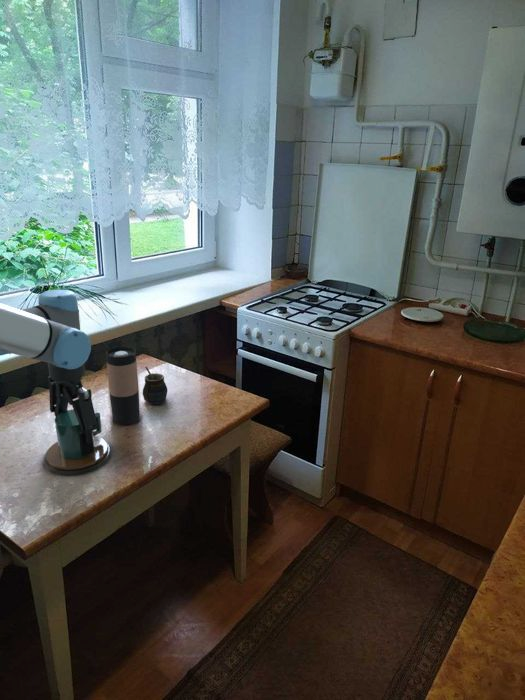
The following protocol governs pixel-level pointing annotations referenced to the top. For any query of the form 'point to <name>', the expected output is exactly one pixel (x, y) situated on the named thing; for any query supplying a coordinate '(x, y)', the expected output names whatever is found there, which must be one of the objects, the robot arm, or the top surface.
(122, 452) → the top surface
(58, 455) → the tea cup
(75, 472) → the base
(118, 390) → the travel mug
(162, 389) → the mate gourd
